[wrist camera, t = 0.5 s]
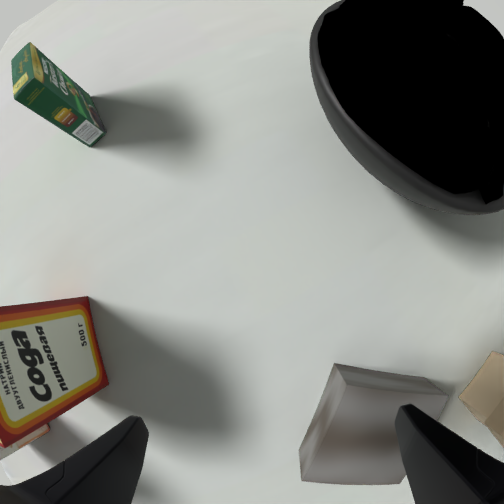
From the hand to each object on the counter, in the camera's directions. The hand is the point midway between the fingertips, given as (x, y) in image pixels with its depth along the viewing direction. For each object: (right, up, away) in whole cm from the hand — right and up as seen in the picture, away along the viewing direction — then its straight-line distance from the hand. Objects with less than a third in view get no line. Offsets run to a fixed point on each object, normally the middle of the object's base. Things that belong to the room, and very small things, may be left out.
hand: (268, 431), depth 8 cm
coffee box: (-19, +21, +19) cm, 34 cm away
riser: (+10, -10, +14) cm, 20 cm away
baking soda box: (-20, -4, +17) cm, 26 cm away
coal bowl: (+14, +18, +16) cm, 27 cm away
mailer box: (+26, -10, +13) cm, 31 cm away
